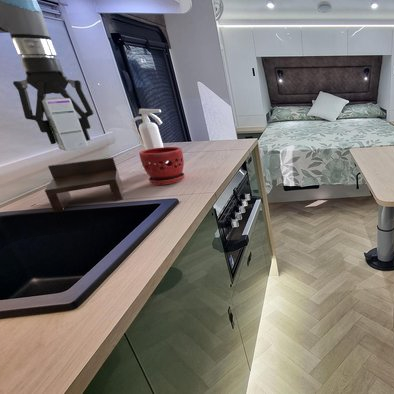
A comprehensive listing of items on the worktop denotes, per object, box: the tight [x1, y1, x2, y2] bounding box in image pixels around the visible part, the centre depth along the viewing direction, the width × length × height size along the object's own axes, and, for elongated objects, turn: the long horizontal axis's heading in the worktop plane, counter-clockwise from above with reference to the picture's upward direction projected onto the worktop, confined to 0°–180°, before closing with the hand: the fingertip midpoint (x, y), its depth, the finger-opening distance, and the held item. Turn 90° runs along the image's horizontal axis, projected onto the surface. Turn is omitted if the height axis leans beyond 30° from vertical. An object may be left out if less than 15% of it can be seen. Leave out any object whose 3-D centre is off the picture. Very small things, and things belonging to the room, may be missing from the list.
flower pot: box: [138, 146, 186, 186], centre depth 106 cm, size 13×13×12 cm
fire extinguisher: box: [131, 108, 169, 172], centre depth 116 cm, size 7×12×25 cm, turn 106°
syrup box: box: [42, 97, 89, 152], centre depth 85 cm, size 6×6×14 cm
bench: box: [44, 157, 124, 214], centre depth 91 cm, size 16×14×11 cm
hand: (71, 141), depth 87 cm, fingers closed on syrup box, 7 cm apart
